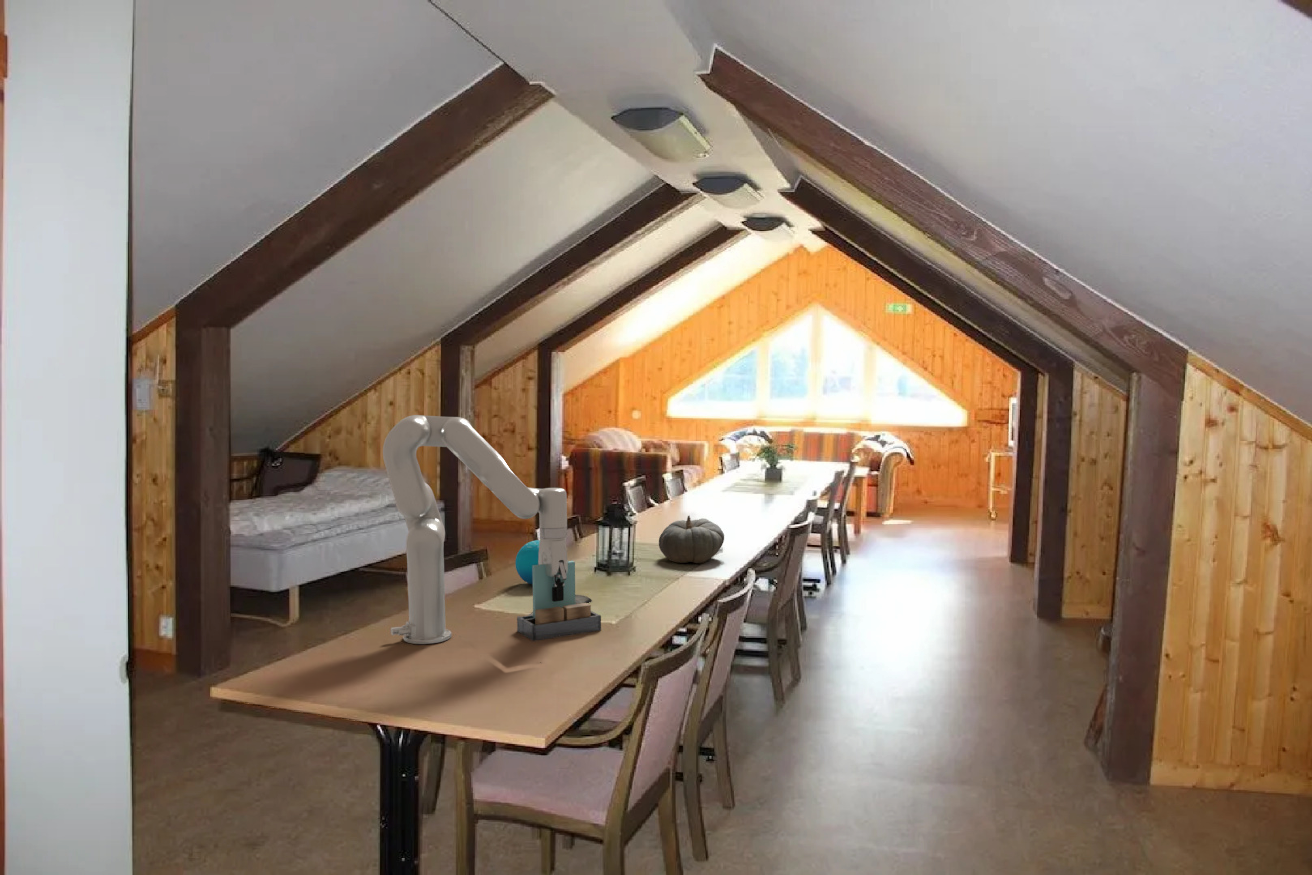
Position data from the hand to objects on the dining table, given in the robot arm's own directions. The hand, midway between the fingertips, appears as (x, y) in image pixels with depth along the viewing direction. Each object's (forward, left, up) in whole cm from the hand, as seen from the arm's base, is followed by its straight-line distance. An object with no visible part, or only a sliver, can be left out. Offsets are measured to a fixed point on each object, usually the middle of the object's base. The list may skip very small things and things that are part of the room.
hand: (554, 598), depth 259 cm
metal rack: (0, -3, -9) cm, 10 cm away
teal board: (0, 0, -8) cm, 8 cm away
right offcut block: (+4, -6, -8) cm, 11 cm away
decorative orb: (+19, +56, -10) cm, 60 cm away
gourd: (+85, +64, -10) cm, 107 cm away
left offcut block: (-4, -6, -8) cm, 11 cm away
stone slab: (+11, +20, -10) cm, 24 cm away
